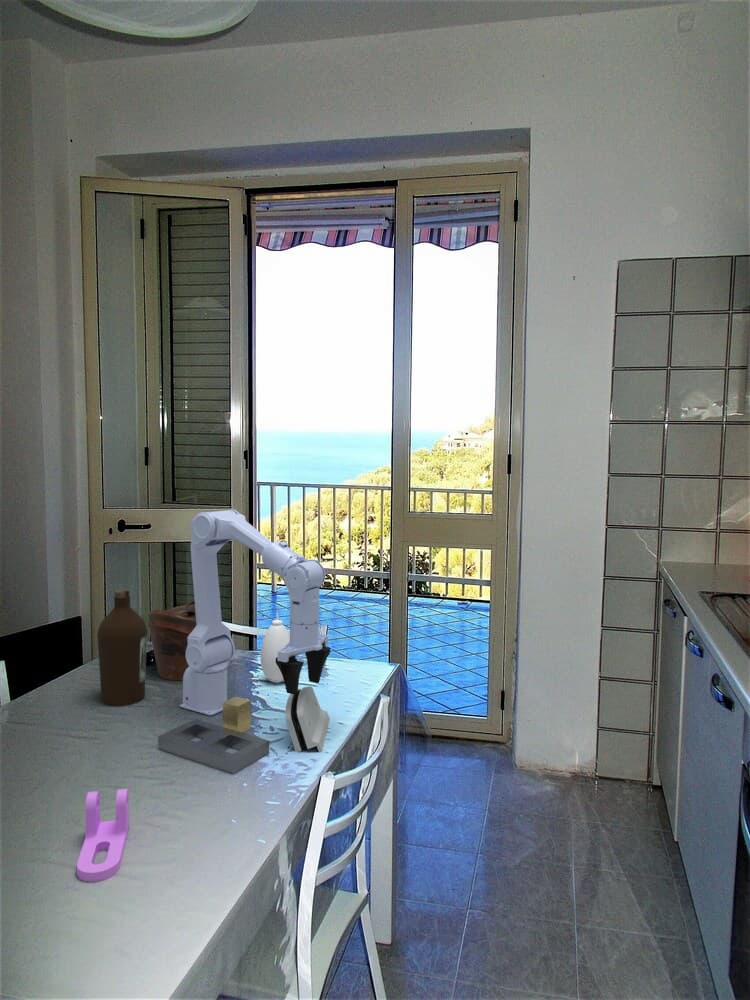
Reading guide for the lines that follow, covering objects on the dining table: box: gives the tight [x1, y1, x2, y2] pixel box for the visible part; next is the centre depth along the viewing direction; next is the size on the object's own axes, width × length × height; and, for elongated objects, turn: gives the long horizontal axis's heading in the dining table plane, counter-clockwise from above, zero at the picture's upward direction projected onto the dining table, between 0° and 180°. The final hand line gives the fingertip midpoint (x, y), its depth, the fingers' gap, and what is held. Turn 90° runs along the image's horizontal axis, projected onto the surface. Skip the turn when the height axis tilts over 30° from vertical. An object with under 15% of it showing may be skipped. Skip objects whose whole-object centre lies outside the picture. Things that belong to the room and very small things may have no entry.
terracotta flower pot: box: [147, 600, 197, 681], centre depth 178 cm, size 18×20×18 cm
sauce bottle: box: [260, 610, 290, 684], centre depth 171 cm, size 8×8×18 cm
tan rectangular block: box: [222, 696, 252, 733], centre depth 143 cm, size 4×4×6 cm
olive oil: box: [96, 588, 148, 707], centre depth 158 cm, size 11×11×25 cm
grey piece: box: [284, 686, 331, 753], centre depth 142 cm, size 17×5×10 cm, turn 178°
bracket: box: [76, 788, 130, 883], centre depth 100 cm, size 13×6×7 cm, turn 13°
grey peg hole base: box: [157, 718, 270, 775], centre depth 133 cm, size 19×10×2 cm, turn 60°
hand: (303, 687), depth 141 cm, fingers open, 7 cm apart
